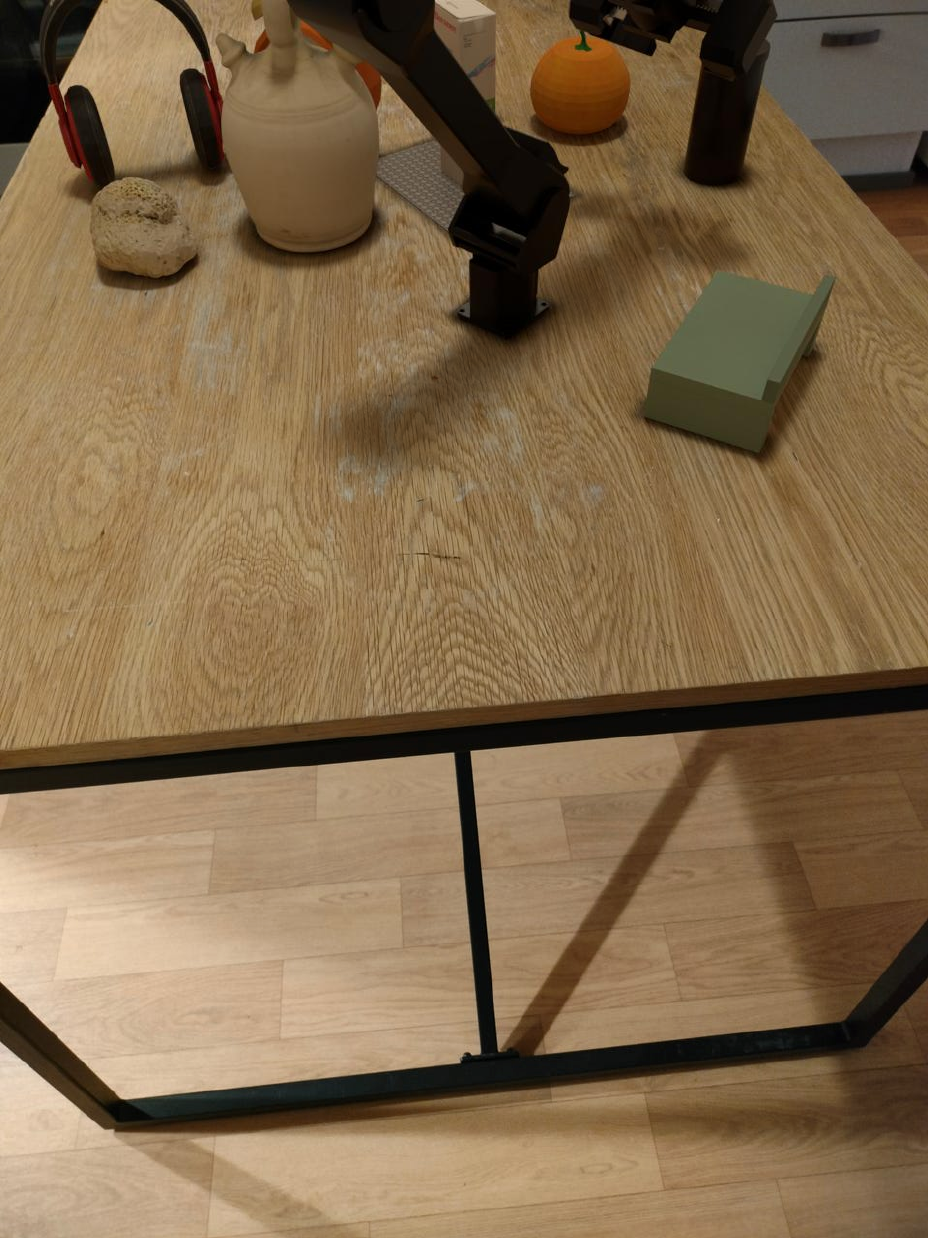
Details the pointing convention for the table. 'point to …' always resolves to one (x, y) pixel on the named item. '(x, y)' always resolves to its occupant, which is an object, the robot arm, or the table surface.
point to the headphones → (82, 114)
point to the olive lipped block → (734, 358)
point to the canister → (723, 124)
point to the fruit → (580, 85)
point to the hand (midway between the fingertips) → (692, 63)
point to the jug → (299, 136)
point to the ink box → (470, 40)
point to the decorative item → (140, 229)
